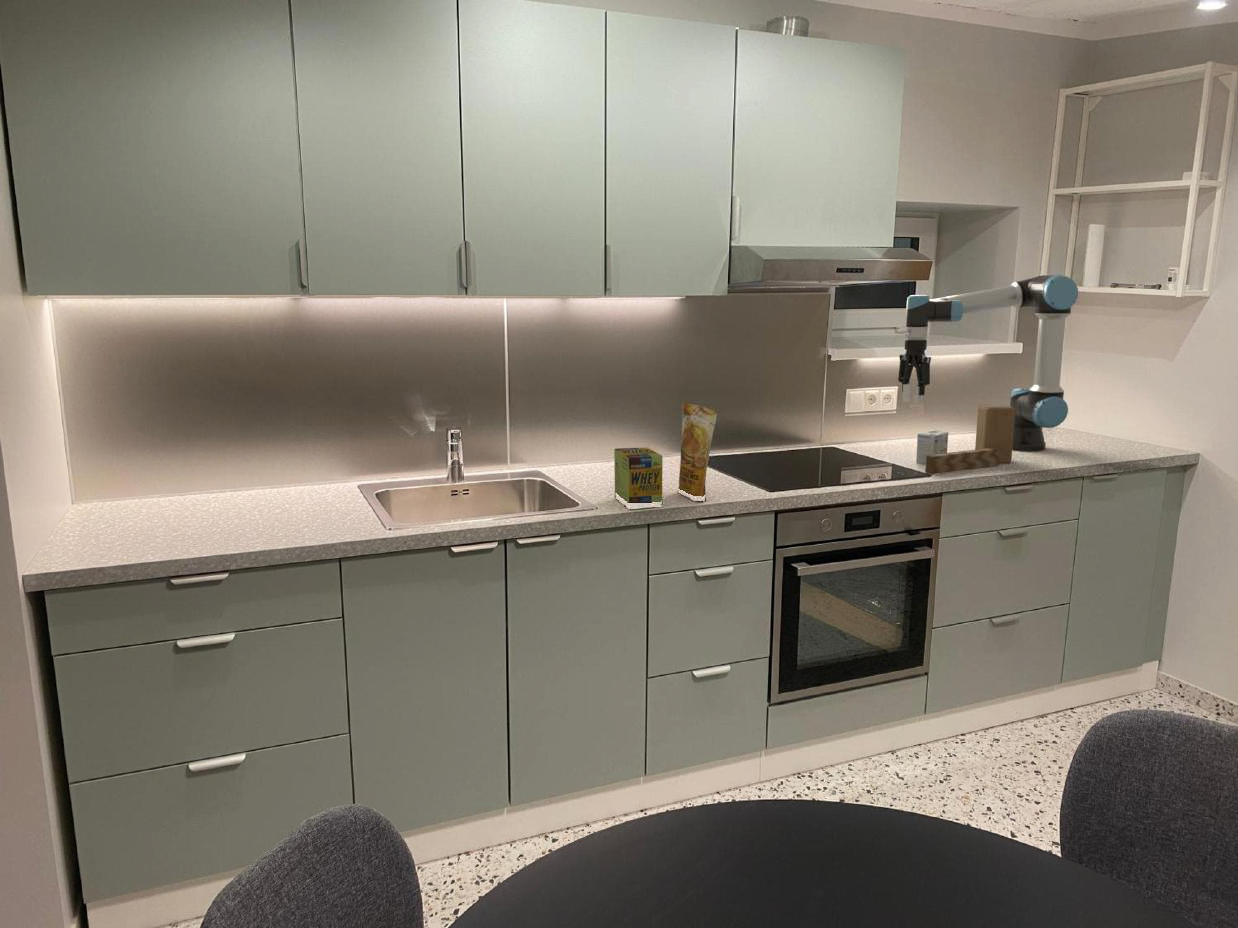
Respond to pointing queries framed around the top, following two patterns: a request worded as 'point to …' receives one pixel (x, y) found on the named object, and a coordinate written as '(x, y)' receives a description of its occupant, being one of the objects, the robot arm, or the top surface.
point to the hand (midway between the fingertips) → (912, 403)
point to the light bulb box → (931, 444)
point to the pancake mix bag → (695, 447)
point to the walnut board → (962, 460)
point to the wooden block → (996, 429)
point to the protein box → (638, 475)
